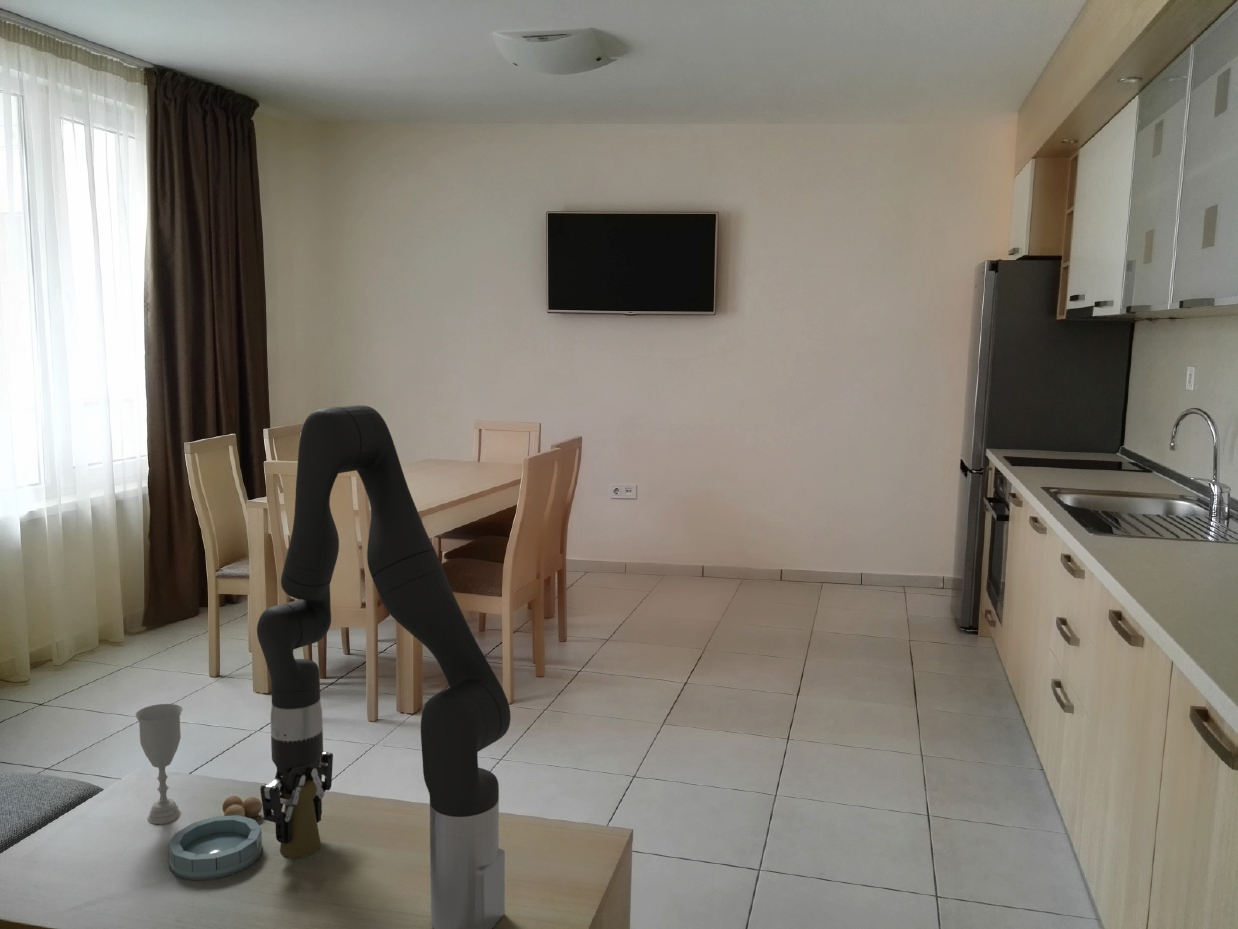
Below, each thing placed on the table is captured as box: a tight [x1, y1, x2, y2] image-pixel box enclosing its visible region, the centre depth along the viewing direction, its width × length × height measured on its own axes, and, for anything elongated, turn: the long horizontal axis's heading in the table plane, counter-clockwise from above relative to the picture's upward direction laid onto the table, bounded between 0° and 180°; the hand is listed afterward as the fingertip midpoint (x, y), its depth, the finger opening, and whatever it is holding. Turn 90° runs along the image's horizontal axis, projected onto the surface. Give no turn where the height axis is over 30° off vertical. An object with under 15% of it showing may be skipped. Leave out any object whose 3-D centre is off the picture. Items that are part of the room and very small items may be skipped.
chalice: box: [135, 703, 184, 825], centre depth 153 cm, size 7×7×18 cm
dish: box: [167, 815, 263, 881], centre depth 143 cm, size 13×13×3 cm
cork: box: [279, 780, 321, 859], centre depth 145 cm, size 6×6×11 cm
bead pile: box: [222, 795, 263, 819], centre depth 153 cm, size 6×6×3 cm
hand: (299, 831), depth 145 cm, fingers open, 6 cm apart
